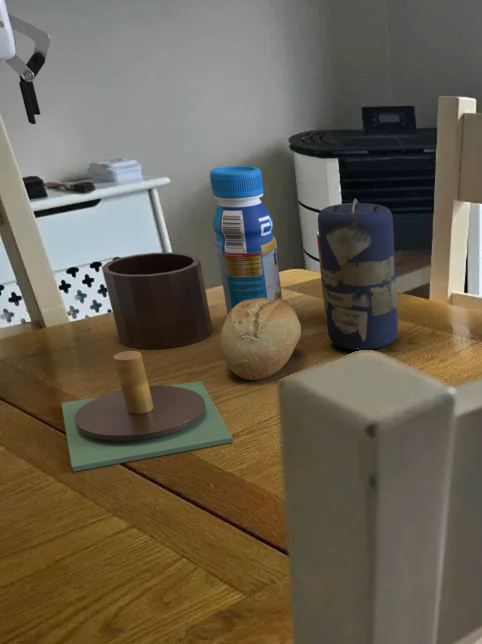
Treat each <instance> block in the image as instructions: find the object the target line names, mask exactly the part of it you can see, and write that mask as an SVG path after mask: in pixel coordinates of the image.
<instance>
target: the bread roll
mask: <svg viewBox="0 0 482 644" xmlns="http://www.w3.org/2000/svg"><path fill="white" fill-rule="evenodd" d="M301 325H302V324H301V322H300V320H299V318H298V314H297V313H296V311H295V309H294V308H293V306H292V304H291V303H290V302H288V300H286V299H283V298H282V299H280V298H278V297H277V300H274V301H272V300H270V299H267V298H265V297H262V298H257V299H251V300H245V301H242V302H240V303H238V304H237V305H236V306H235V307H234V308H233V309H232V310H231V311H230V312H229V314H228V316H227V315H226V318H225V320H224V321H223V326H222V329H221V334H220V349H221V354H222V357H223V359H224V361H225V363H226V365H227V367H228V369H230V370H231V371H232V373H234V375H236V376H237V377H239V378H241V379H244V380H248V381H259V380H262V379H265V378H268V377H270V376H272V375H273V374H276V373H277V372H279V371H280V370H281V369H282V368H283V367H284V366H285V365H286V364H287V363H288V361H289V360H290V358H291V357H292V355H293V353H294V352H295V349H296V346H297V345H298V342H299V340H300V338H301V336H302V335H301V334H302V326H301Z"/></svg>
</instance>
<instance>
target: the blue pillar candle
mask: <svg viewBox="0 0 482 644" xmlns="http://www.w3.org/2000/svg"><path fill="white" fill-rule="evenodd" d="M317 228H318V231H319V243H320V253H321V264H322V277H323V286H322V285H321V288H322V287H323V291H322V293H323V292H324V299H325V308H326V318H327V322H326V327H327V336H328V338H329V340H330V341H331V343H332V344H333V345H334V346H337V347H340V348H342V349H347V350H353V349H355V351H363V350H362V349H369V350H374V349H373V348H376V349H379V348H384V347H386V346H388V345H391V344H392V343H393V342H395V340H396V339H397V338H398V334H399V333H398V332H399V324H398V323H399V322H398V299H397V280H396V278H397V277H396V259H395V257H396V256H395V237H394V218H393V213H392V211H391V210H390V209H389V208H388V207H387V206H384V205H380V204H376V203H365V202H364V203H363V202H359V201H358V199H357V198H354V199H353V201H352V202H350V203H340V204H339V203H338V204H333V205H330V206H326V207H324V208H322V209H321V210H320V211H319V213H318V215H317ZM318 231H317V232H318ZM357 348H359V349H357Z"/></svg>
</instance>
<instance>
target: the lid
mask: <svg viewBox="0 0 482 644" xmlns="http://www.w3.org/2000/svg"><path fill="white" fill-rule="evenodd" d="M113 361H114V364H115V369H116V373H117V376H118V380H119V385H120V388H121V390H117V391H114V392H113V391H112V392H110V393H106V394H103V395H100V396H97V397H98V398H96V397H95V398H96V399H94V400H92V401H90V402H88V403H87V404H85V405H84V406H82V407H81V408H80V409H79V410H78V411H77V413H76V414H75V417H74V421H75V424H76V427H77V429H78V430H79V431H80V432H82V433H83V434H85V435H87V436H90V437H93V438H97V439H103V440H114V441H127V440H140V439H147V438H153V437H157V436H162V435H166V434H169V433H172V432H175V431H178V430H180V429H183V428H185V427H187V426H189V425H191V424H192V423H194V422H196V421H197V420H198V419H199V418H200V417H201V416H202V415H203V414H204V412H205V401H204V399H203V397H202V396H201V395H199V394H198V393H196V392H194V391H192V390H189V389H185V388H180V387H173V386H172V385H149V381H148V376H147V372H146V368H145V363H144V359H143V355H142V353H141V352H140V351H137V350H126V351H121V352H118V353H116V354H114V355H113Z"/></svg>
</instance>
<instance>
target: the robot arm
mask: <svg viewBox="0 0 482 644" xmlns="http://www.w3.org/2000/svg"><path fill="white" fill-rule="evenodd" d="M14 31H16V32H18V33H20V34H22V35H24V36H26V37H28V38H30V39H32V40H33V42H34V49H33V53H32V55H31V56H30V58H29V59H28V61H27V62H26V63H25V62H24V61H23V60H22V59H21V57H19V56H18V55H17V43H16V38H15V34H14ZM50 42H51V36H50V35H49V33H48V32H46V31H45V30H43V29H41V28H39V27H36V26H35V25H33V24H31V23H29V22H27V21H25V20H23V19H21V18H19V17H18V16H15V15H13V14H12V13H10V12H9V11H8V8H7V4H6V0H0V62H5V63H7V65H8V66H9V67H10V68H12V69H13V70H14V72H16V73H17V74H18V76H19V80H20V81H19V82H18V85H19V89H20V93H21V97H22V101H23V105H24V110H25V114H26V117H27V121H28V123H29V124H31V125H36V124H37V120H36V117H35V116H40V115H41V110H40V107H39V103H38V97H37V94H36V90H35V86H34V80H35V78H36V77H37V76H38V75H39V72H40V71H41V69H42V68H43V67H44V64H45V63H46V59H47V55H48V50H49V46H50Z"/></svg>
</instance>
